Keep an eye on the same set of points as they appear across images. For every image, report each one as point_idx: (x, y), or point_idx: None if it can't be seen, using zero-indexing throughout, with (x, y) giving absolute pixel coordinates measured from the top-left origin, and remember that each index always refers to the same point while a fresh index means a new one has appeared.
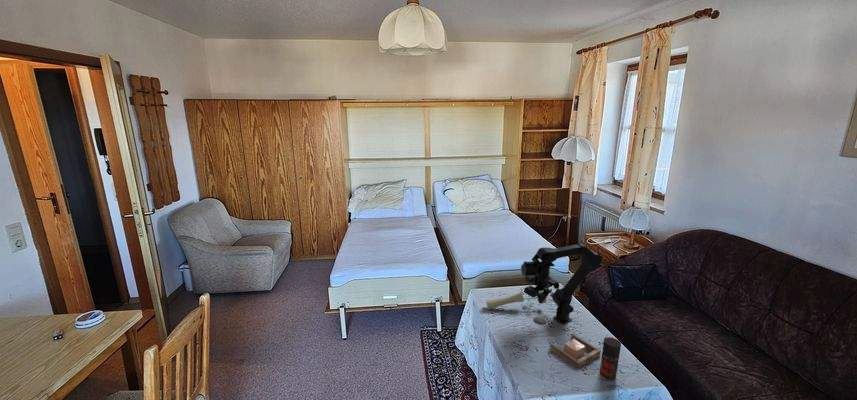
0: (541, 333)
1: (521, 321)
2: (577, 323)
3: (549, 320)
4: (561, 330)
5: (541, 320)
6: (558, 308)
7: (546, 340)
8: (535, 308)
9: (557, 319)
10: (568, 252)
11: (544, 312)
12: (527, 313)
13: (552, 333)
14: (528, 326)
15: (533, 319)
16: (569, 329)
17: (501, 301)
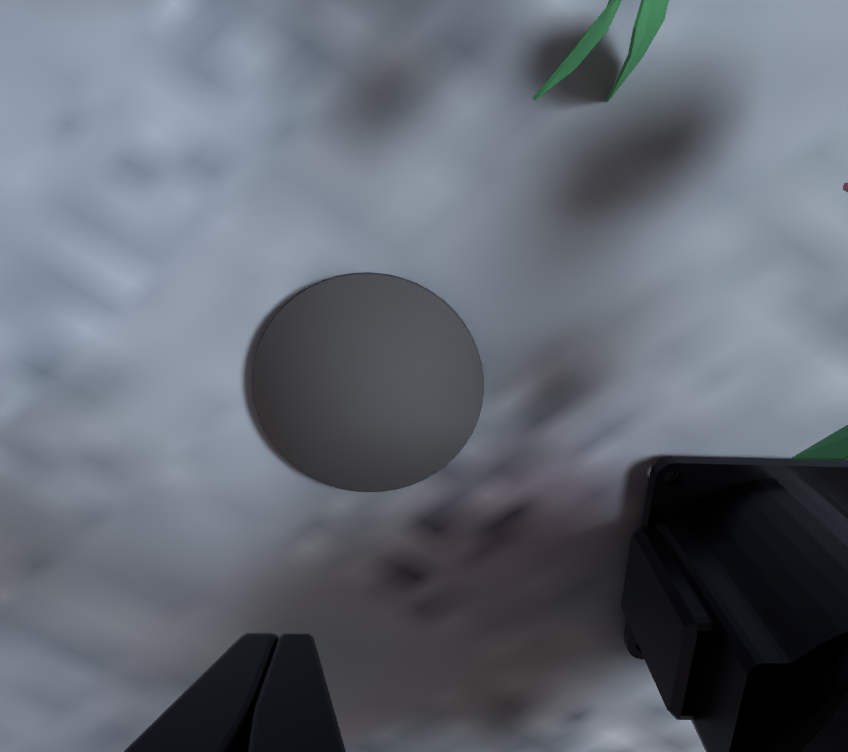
0: (124, 615)
1: (35, 200)
2: None
3: (534, 465)
4: (453, 709)
5: (396, 408)
6: (780, 683)
7: (72, 738)
8: (622, 72)
9: (630, 569)
10: None
11: (702, 240)
12: (370, 51)
13: None
14: (55, 388)
15: (287, 305)
16: (572, 746)
17: None
